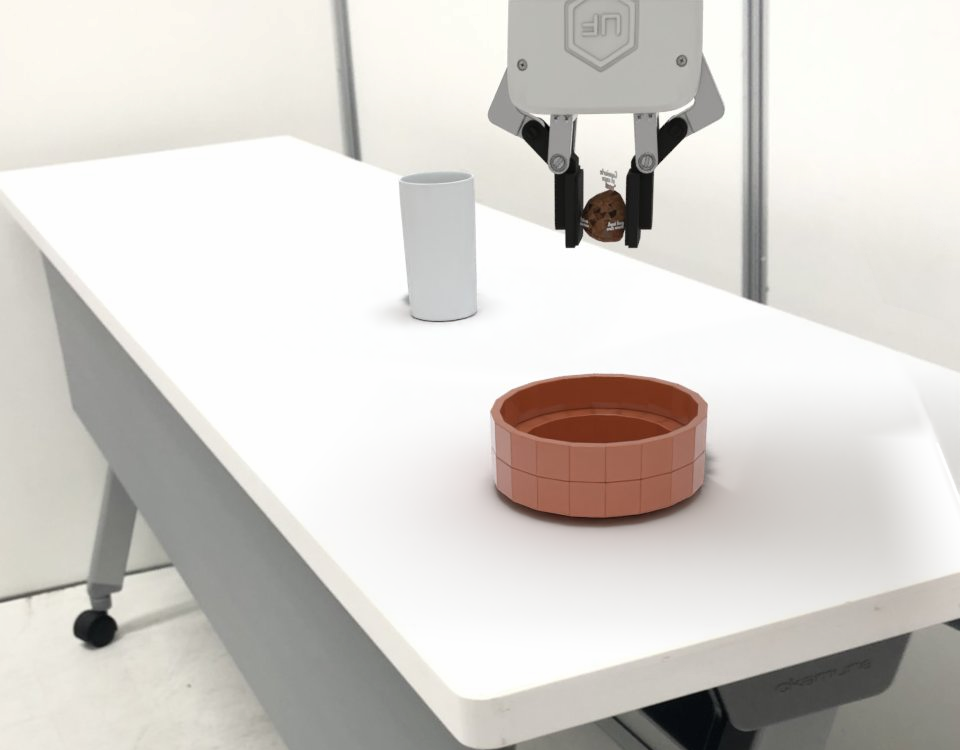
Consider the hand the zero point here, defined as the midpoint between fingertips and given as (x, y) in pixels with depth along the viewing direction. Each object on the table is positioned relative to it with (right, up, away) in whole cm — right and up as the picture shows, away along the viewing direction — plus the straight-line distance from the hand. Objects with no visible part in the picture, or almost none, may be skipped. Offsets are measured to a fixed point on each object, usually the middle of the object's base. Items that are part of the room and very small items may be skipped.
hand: (603, 240), depth 70 cm
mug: (-10, +8, +45) cm, 47 cm away
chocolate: (0, 0, 0) cm, 0 cm away
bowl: (0, -13, +7) cm, 15 cm away
